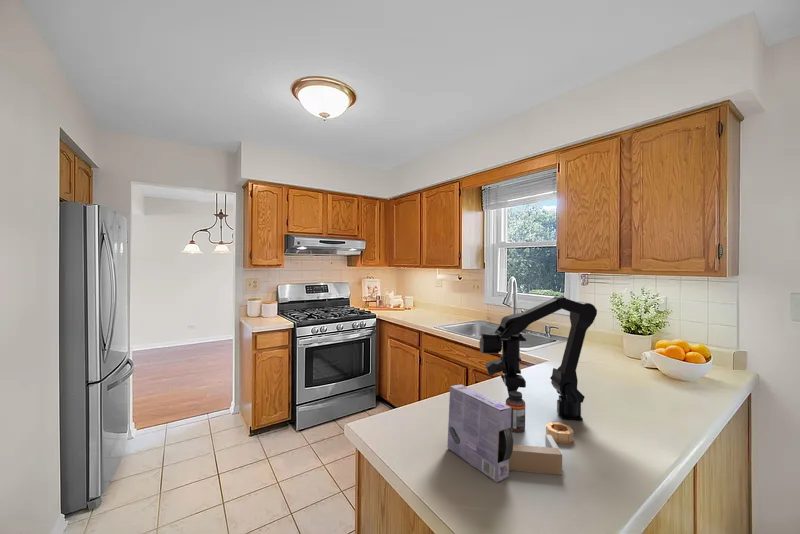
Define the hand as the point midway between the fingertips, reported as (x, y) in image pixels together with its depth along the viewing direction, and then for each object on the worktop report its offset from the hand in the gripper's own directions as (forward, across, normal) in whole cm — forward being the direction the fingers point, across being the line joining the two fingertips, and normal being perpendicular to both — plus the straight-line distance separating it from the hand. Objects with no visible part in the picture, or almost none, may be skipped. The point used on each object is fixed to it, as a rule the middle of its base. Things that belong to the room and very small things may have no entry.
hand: (510, 398), depth 116 cm
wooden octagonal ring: (+6, +13, +12) cm, 19 cm away
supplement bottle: (+6, +9, 0) cm, 11 cm away
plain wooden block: (+6, +24, 0) cm, 25 cm away
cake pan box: (+6, +30, -13) cm, 33 cm away
